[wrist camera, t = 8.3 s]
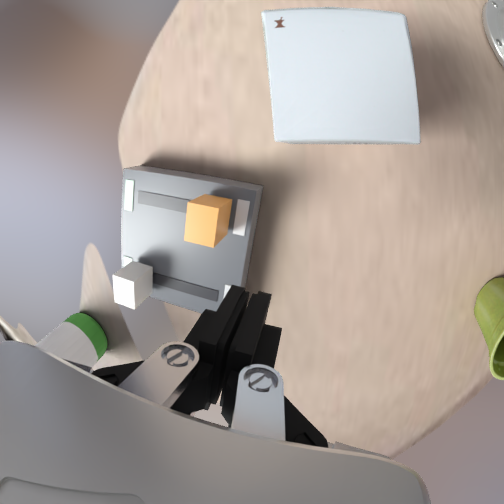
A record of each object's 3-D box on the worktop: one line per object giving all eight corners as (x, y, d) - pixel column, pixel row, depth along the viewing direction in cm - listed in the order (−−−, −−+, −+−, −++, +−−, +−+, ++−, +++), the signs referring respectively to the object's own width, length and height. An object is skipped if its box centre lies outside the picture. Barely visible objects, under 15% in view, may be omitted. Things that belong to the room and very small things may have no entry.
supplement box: (290, 145, 24) (267, 144, 13) (285, 66, 22) (257, 5, 10) (373, 146, 23) (423, 148, 11) (368, 67, 20) (406, 9, 9)
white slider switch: (132, 260, 28) (112, 274, 25) (152, 266, 27) (133, 282, 24) (133, 286, 29) (114, 302, 26) (152, 292, 29) (135, 309, 25)
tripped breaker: (204, 193, 24) (187, 202, 21) (232, 199, 23) (218, 208, 20) (200, 227, 25) (183, 240, 22) (227, 233, 25) (213, 247, 21)
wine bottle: (102, 314, 37) (-41, 457, 9) (115, 356, 39) (1, 495, 12) (67, 305, 38) (-64, 421, 11) (81, 345, 41) (-29, 461, 14)
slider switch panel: (140, 165, 28) (123, 168, 25) (263, 185, 26) (256, 190, 23) (136, 276, 33) (122, 288, 30) (241, 307, 31) (234, 323, 28)
